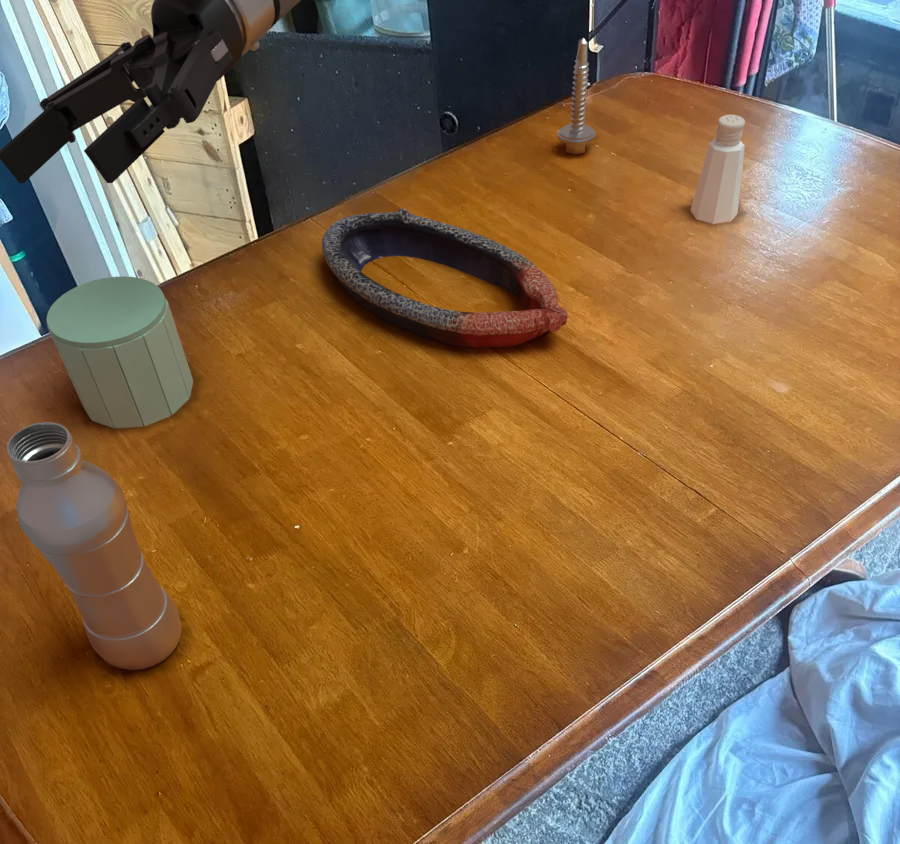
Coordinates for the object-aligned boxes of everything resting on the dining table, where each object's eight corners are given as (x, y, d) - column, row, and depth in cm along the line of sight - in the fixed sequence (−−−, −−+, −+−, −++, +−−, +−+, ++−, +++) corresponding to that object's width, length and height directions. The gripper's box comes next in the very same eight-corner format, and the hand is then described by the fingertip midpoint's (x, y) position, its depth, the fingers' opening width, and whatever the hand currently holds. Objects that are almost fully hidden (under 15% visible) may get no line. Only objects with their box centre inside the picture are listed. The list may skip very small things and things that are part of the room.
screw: (570, 138, 117) (601, 147, 115) (549, 152, 115) (581, 162, 113) (577, 26, 107) (611, 35, 105) (554, 40, 105) (589, 48, 103)
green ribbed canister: (64, 416, 85) (21, 325, 77) (134, 357, 90) (100, 266, 82) (148, 446, 81) (112, 354, 74) (215, 382, 87) (188, 291, 79)
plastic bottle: (149, 695, 64) (38, 495, 49) (81, 659, 66) (-45, 457, 51) (206, 632, 68) (120, 427, 52) (140, 599, 70) (38, 394, 54)
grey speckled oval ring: (390, 227, 104) (385, 185, 101) (601, 324, 91) (606, 280, 87) (289, 284, 98) (281, 241, 94) (501, 399, 84) (502, 354, 80)
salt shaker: (711, 236, 100) (731, 135, 92) (678, 216, 103) (695, 117, 95) (746, 221, 102) (769, 120, 94) (713, 202, 105) (732, 103, 97)
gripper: (329, 49, 75) (171, 211, 67) (154, 70, 89) (9, 206, 82) (284, -50, 69) (107, 116, 62) (105, -10, 83) (-55, 129, 76)
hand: (51, 168), depth 72 cm, fingers open, 13 cm apart
